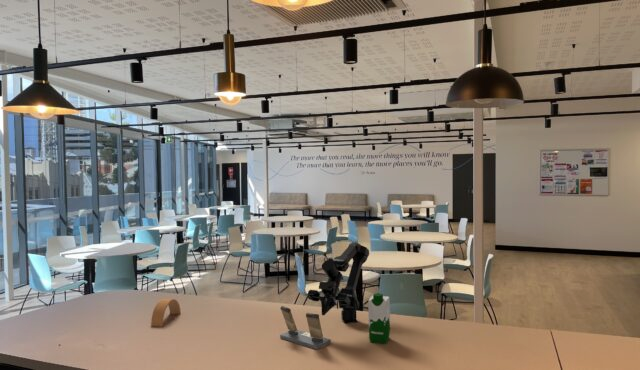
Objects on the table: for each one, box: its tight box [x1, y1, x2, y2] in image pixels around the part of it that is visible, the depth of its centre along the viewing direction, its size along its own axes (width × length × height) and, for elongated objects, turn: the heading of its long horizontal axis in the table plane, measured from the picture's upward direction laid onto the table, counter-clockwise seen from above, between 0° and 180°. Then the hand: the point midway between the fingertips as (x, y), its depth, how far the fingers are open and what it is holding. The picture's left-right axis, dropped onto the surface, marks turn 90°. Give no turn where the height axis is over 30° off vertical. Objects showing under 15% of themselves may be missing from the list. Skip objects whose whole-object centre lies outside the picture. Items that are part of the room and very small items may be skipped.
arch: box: [150, 298, 181, 327], centre depth 223 cm, size 6×20×10 cm, turn 172°
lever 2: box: [305, 312, 324, 339], centre depth 184 cm, size 2×5×11 cm, turn 62°
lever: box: [280, 305, 298, 332], centre depth 194 cm, size 2×5×11 cm, turn 38°
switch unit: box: [279, 329, 332, 351], centre depth 191 cm, size 9×21×2 cm, turn 50°
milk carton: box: [367, 293, 391, 345], centre depth 190 cm, size 9×9×20 cm
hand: (322, 315), depth 191 cm, fingers closed
